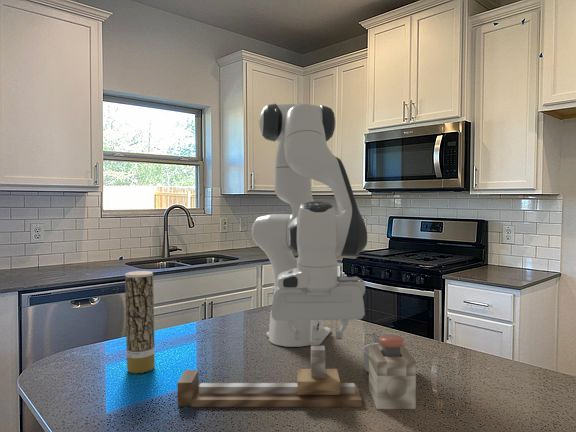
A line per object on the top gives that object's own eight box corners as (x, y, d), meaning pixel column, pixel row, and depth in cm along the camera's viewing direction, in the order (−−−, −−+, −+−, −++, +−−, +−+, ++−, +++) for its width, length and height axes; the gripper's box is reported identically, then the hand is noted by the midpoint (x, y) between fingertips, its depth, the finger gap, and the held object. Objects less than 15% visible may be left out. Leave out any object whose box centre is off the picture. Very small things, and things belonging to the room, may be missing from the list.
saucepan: (393, 352, 127) (393, 332, 127) (414, 380, 107) (414, 358, 107) (353, 352, 127) (353, 333, 127) (366, 381, 107) (366, 358, 107)
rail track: (175, 409, 93) (174, 362, 92) (187, 388, 103) (186, 346, 103) (416, 409, 92) (416, 362, 92) (403, 388, 103) (403, 345, 102)
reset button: (381, 361, 95) (381, 342, 95) (377, 352, 100) (377, 334, 100) (406, 361, 95) (406, 342, 95) (400, 352, 100) (400, 334, 100)
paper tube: (146, 375, 111) (144, 275, 110) (121, 373, 112) (119, 275, 111) (159, 365, 118) (157, 271, 117) (136, 363, 119) (134, 270, 118)
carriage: (297, 397, 94) (297, 353, 94) (297, 383, 101) (297, 342, 101) (340, 397, 94) (340, 353, 94) (336, 383, 101) (336, 342, 101)
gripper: (362, 273, 100) (362, 333, 101) (271, 274, 100) (272, 334, 101) (367, 279, 94) (367, 343, 95) (270, 280, 94) (271, 344, 95)
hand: (317, 338), depth 98 cm, fingers open, 8 cm apart
